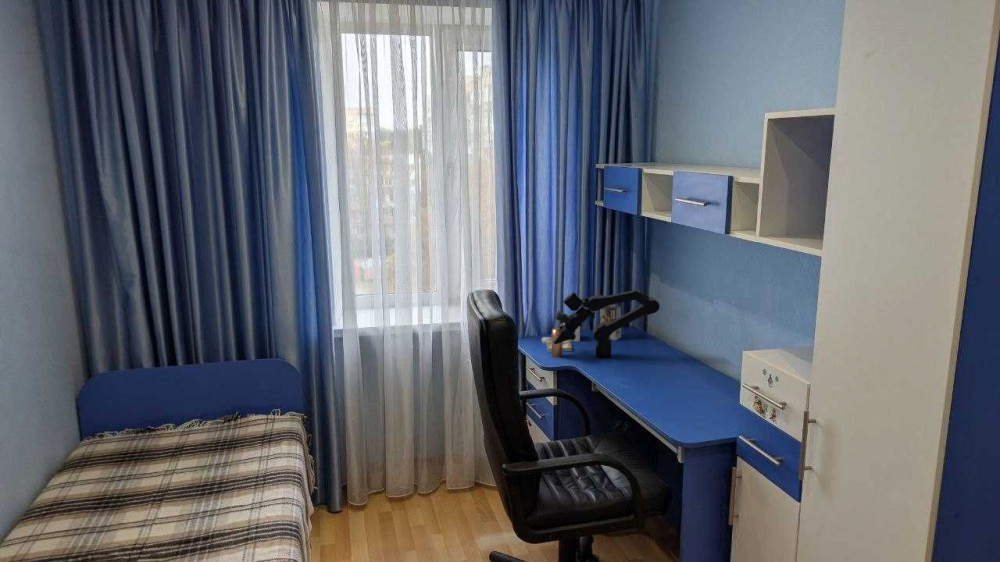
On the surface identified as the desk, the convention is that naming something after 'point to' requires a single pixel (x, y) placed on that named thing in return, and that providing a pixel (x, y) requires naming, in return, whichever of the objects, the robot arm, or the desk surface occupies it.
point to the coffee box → (611, 318)
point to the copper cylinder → (556, 347)
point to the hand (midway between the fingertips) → (554, 342)
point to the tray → (565, 346)
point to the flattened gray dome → (546, 339)
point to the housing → (576, 334)
